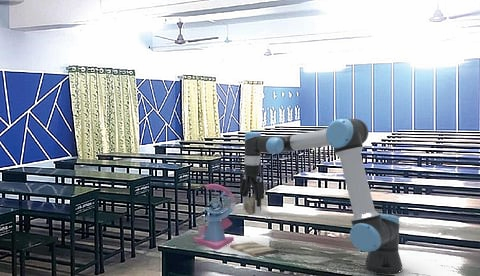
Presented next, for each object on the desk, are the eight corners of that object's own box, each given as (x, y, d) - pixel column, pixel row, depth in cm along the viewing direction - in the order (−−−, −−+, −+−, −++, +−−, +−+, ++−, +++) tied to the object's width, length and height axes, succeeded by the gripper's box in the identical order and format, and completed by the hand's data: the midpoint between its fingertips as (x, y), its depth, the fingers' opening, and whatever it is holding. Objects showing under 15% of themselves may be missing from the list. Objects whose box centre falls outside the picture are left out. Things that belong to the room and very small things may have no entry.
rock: (250, 206, 251) (251, 188, 247) (262, 210, 248) (263, 192, 244) (239, 218, 241) (239, 200, 237) (251, 222, 238) (252, 203, 234)
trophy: (233, 240, 259) (234, 182, 257) (237, 249, 242) (238, 186, 241) (193, 241, 256) (194, 182, 255) (195, 250, 239) (196, 186, 238)
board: (278, 252, 237) (278, 250, 237) (255, 256, 230) (255, 254, 229) (252, 243, 254) (252, 241, 254) (229, 247, 246) (230, 244, 246)
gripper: (272, 166, 235) (271, 214, 236) (245, 162, 252) (244, 207, 253) (260, 166, 230) (259, 216, 232) (232, 162, 248) (231, 208, 249)
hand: (251, 211), depth 242 cm, fingers closed on rock, 9 cm apart
